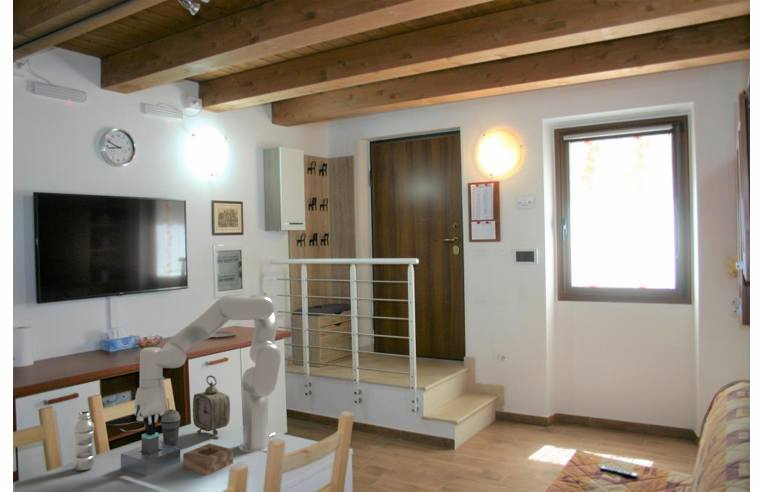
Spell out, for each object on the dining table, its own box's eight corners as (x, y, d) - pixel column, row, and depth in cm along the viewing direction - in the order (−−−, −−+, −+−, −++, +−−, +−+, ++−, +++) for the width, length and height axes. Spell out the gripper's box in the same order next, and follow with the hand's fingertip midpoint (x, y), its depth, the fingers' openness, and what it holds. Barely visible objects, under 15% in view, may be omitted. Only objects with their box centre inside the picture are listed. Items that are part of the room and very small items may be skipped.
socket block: (154, 457, 210) (154, 441, 210) (180, 465, 203) (180, 448, 203) (120, 470, 198) (120, 453, 198) (146, 478, 191) (146, 461, 191)
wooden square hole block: (209, 459, 208) (209, 443, 208) (233, 466, 202) (233, 449, 202) (183, 470, 198) (183, 453, 198) (207, 478, 192) (207, 460, 192)
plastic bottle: (87, 464, 203) (87, 409, 203) (98, 468, 200) (98, 412, 199) (69, 470, 197) (69, 413, 197) (80, 474, 194) (80, 416, 194)
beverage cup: (173, 454, 213) (174, 401, 213) (156, 452, 214) (156, 400, 214) (184, 447, 220) (184, 396, 220) (167, 446, 221) (167, 395, 221)
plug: (151, 461, 203) (151, 431, 203) (158, 463, 201) (158, 433, 201) (141, 465, 200) (141, 434, 200) (149, 467, 198) (149, 436, 198)
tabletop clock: (192, 434, 235) (192, 374, 235) (211, 428, 242) (211, 371, 242) (212, 442, 226) (212, 380, 226) (231, 436, 233) (231, 376, 233)
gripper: (161, 377, 208) (161, 426, 208) (125, 385, 195) (125, 438, 195) (175, 379, 205) (174, 430, 205) (139, 388, 192) (139, 442, 192)
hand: (150, 434), depth 200 cm, fingers closed
